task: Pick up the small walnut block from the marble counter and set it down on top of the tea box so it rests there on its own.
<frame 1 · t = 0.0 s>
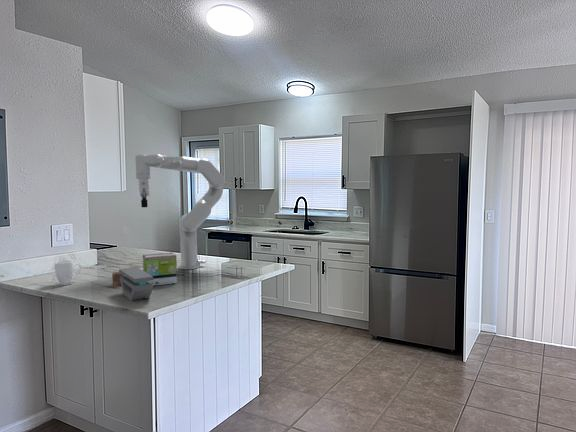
hand: (144, 206, 250), 37 cm above the countertop, tool pointing down, fingers open, 9 cm apart
walnut block: (118, 284, 221), on the countertop
tea box: (160, 283, 223), on the countertop
mug: (69, 283, 225), on the countertop
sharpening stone: (136, 296, 199), on the countertop
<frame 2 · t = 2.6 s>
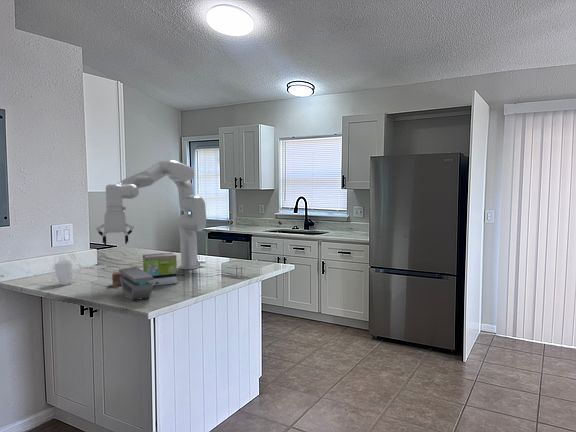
hand: (115, 244, 219), 21 cm above the countertop, tool pointing down, fingers open, 9 cm apart
nothing on the countertop moved.
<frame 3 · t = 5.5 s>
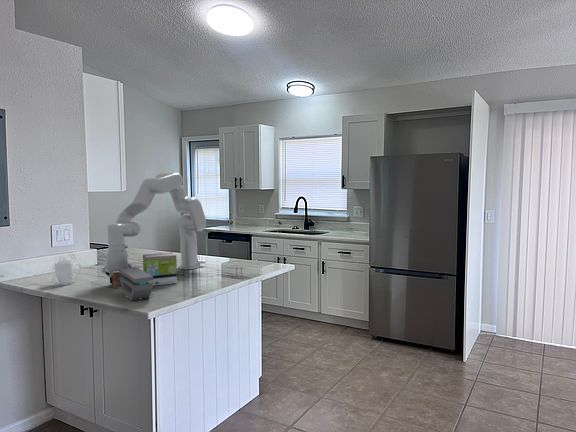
hand: (118, 283, 221), 0 cm above the countertop, tool pointing down, fingers closed on walnut block, 5 cm apart
walnut block: (118, 284, 221), on the countertop, touching gripper
everything else where it was.
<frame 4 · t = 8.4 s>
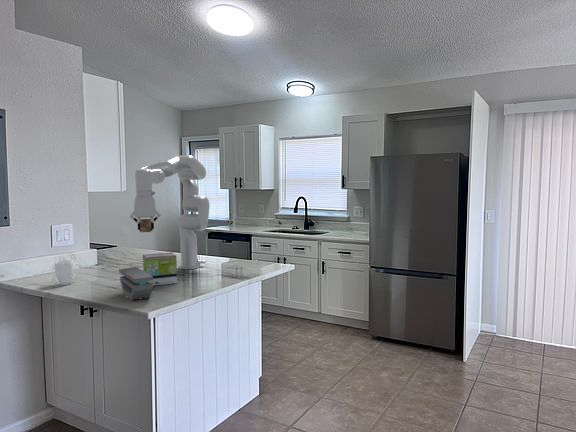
hand: (146, 230, 220), 27 cm above the countertop, tool pointing down, fingers closed on walnut block, 5 cm apart
walnut block: (146, 231, 220), point 26 cm above the countertop, touching gripper
everything else where it was.
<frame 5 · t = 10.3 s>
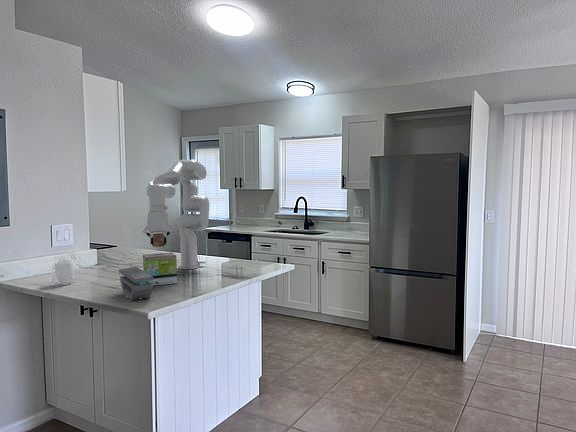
hand: (158, 244, 221), 20 cm above the countertop, tool pointing down, fingers closed on walnut block, 5 cm apart
walnut block: (158, 245, 221), point 19 cm above the countertop, touching gripper
everything else where it was.
when the fingers open (17 cm above the countertop, at t = 11.6 s): walnut block drops 2 cm, resting on tea box.
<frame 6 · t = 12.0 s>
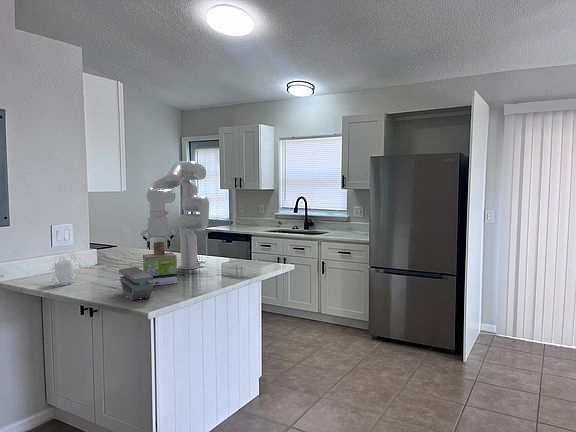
hand: (158, 248, 222), 18 cm above the countertop, tool pointing down, fingers open, 8 cm apart
walnut block: (159, 254, 222), point 15 cm above the countertop, touching tea box
tea box: (160, 283, 223), on the countertop, touching walnut block
everything else where it was.
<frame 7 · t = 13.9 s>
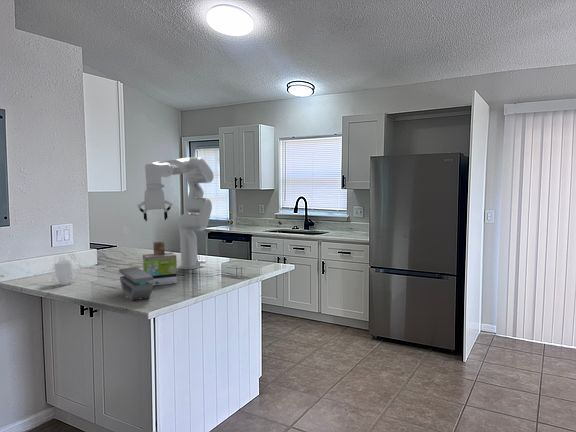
hand: (155, 220, 229), 31 cm above the countertop, tool pointing down, fingers open, 9 cm apart
nothing on the countertop moved.
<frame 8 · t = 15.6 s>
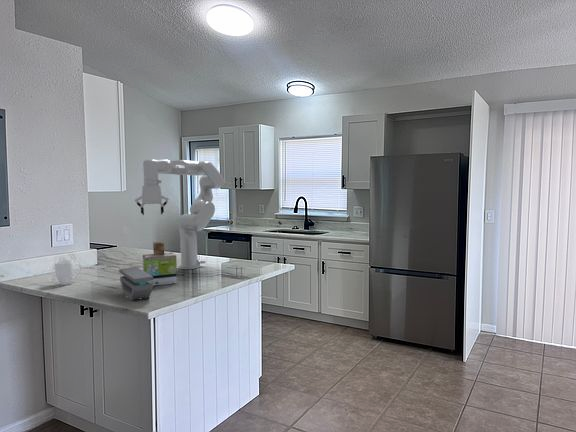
hand: (152, 214, 239), 33 cm above the countertop, tool pointing down, fingers open, 9 cm apart
nothing on the countertop moved.
at the end: walnut block inside the target area on the tea box (0.1 cm from its centre), point 15.0 cm above the tea box's base; walnut block tilted 0°; the gripper is holding nothing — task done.
